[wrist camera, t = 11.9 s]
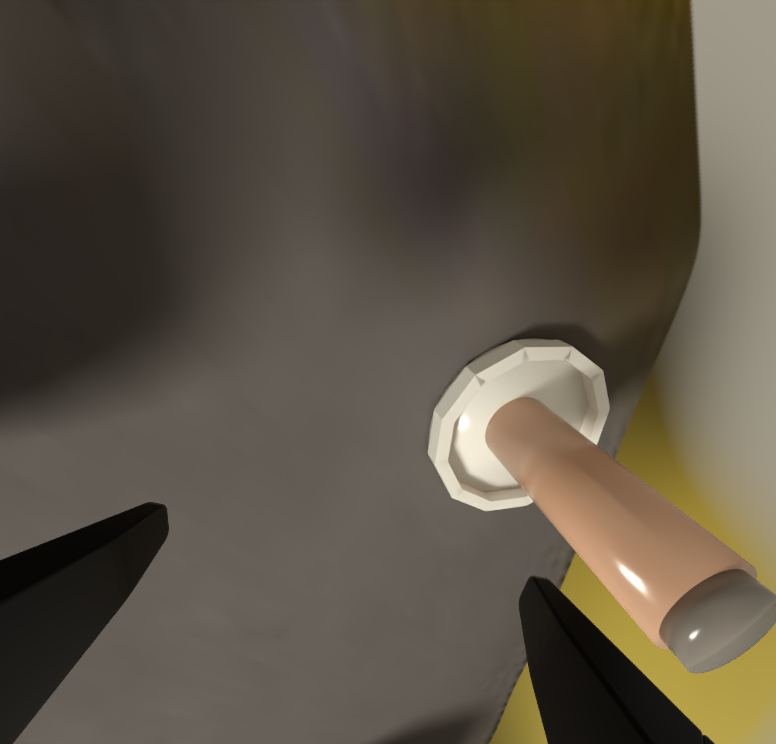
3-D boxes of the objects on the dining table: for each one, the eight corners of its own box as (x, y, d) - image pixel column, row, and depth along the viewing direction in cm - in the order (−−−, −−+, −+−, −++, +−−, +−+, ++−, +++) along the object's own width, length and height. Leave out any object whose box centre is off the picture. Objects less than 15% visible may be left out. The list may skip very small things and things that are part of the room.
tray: (514, 512, 28) (526, 527, 27) (392, 460, 23) (399, 476, 22) (620, 388, 26) (639, 398, 24) (509, 301, 21) (524, 308, 19)
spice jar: (502, 468, 25) (690, 692, 14) (473, 427, 23) (666, 651, 12) (556, 428, 25) (792, 623, 13) (532, 383, 23) (787, 568, 11)
